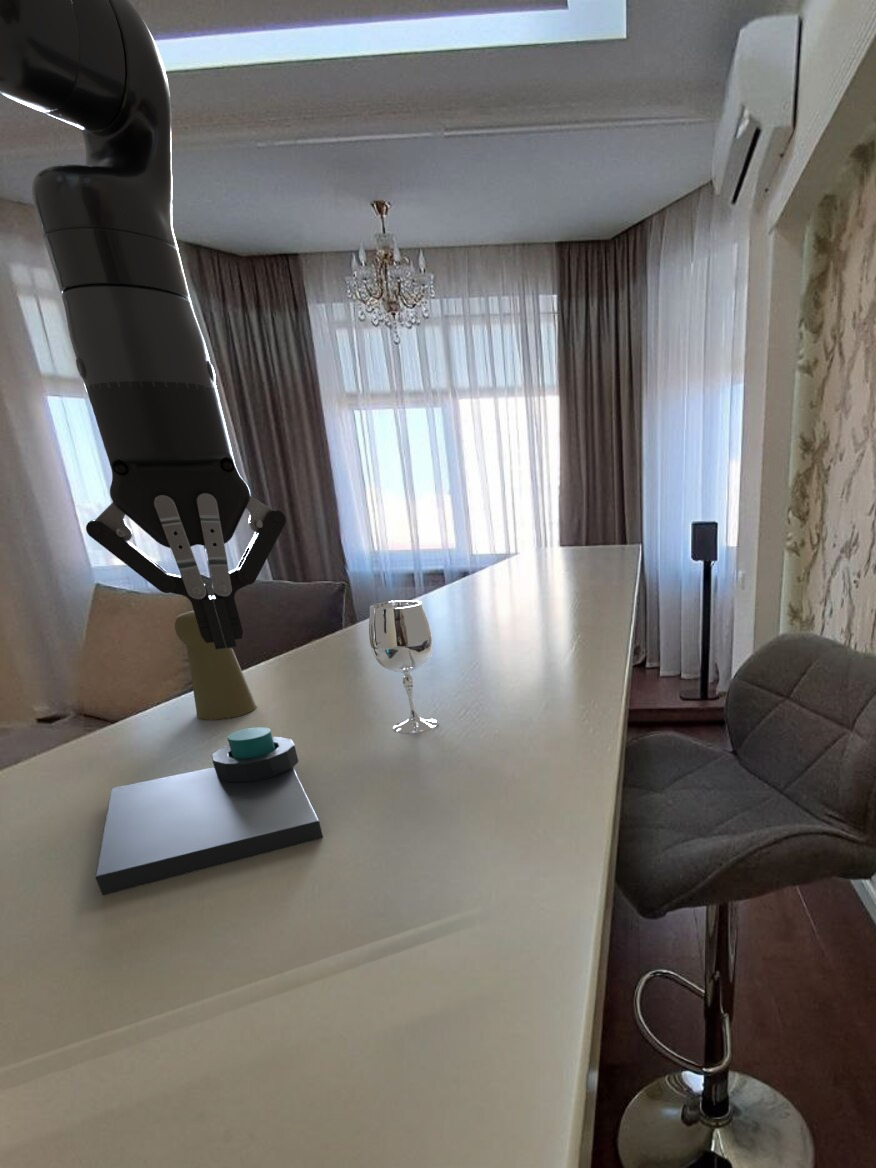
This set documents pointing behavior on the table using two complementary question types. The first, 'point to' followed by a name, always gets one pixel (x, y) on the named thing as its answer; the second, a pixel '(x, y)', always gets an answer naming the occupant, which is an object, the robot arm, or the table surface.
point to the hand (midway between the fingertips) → (225, 646)
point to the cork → (213, 674)
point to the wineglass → (402, 649)
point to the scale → (204, 818)
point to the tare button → (251, 742)
